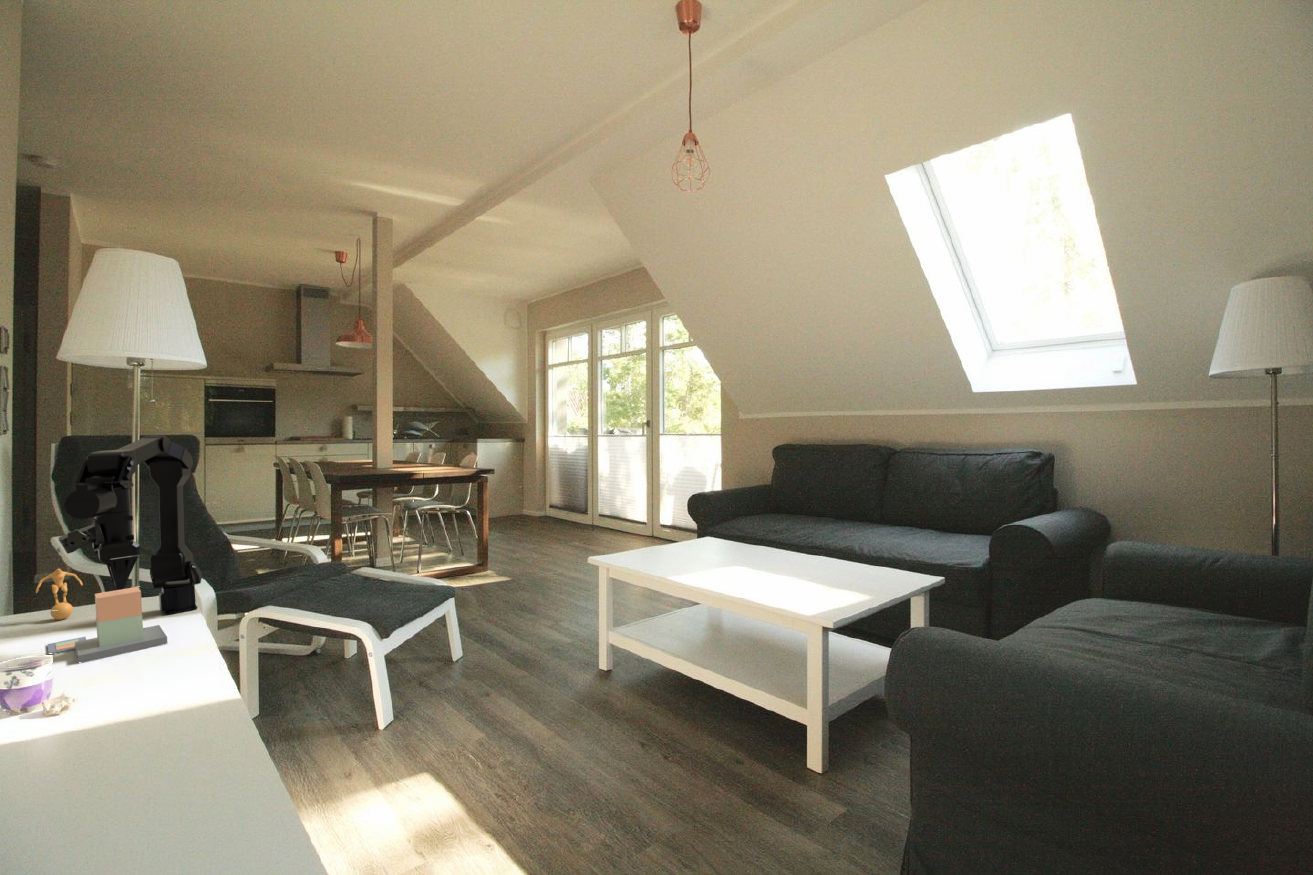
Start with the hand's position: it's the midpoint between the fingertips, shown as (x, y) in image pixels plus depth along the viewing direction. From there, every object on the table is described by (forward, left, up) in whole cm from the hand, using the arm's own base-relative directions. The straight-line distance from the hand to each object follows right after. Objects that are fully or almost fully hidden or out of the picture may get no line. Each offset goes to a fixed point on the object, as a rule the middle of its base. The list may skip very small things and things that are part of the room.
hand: (117, 585), depth 133 cm
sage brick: (0, 0, -12) cm, 12 cm away
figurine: (+8, -36, -13) cm, 39 cm away
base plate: (0, 0, -13) cm, 13 cm away
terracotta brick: (0, 0, -6) cm, 7 cm away
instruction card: (+8, -9, -13) cm, 18 cm away
